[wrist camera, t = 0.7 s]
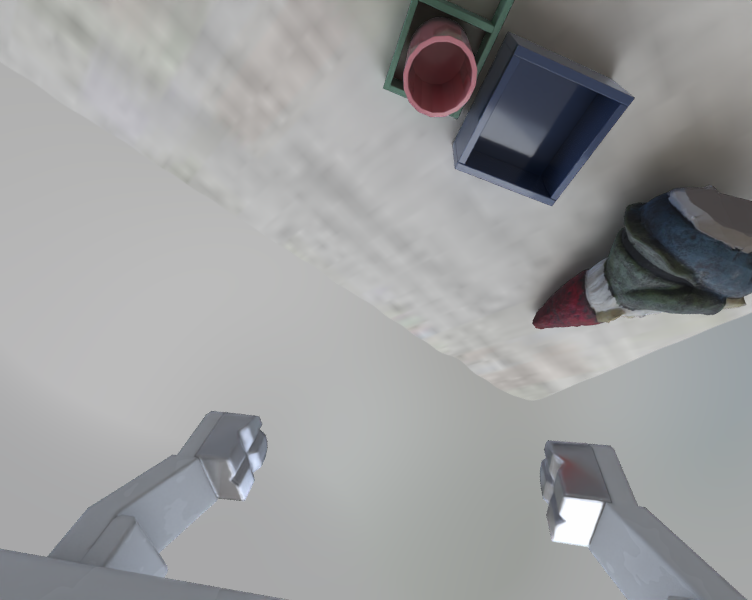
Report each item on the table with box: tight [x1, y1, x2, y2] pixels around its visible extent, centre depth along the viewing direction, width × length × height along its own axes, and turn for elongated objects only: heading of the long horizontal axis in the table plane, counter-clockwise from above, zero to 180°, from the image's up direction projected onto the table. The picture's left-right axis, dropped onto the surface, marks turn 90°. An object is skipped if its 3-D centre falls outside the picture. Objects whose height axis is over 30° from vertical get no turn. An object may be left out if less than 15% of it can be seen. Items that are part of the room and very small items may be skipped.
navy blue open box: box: [452, 31, 635, 206], centre depth 41 cm, size 12×12×6 cm
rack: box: [383, 0, 514, 119], centre depth 36 cm, size 16×8×3 cm, turn 161°
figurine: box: [533, 185, 752, 329], centre depth 52 cm, size 29×17×15 cm
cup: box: [403, 17, 477, 117], centre depth 37 cm, size 6×6×10 cm
